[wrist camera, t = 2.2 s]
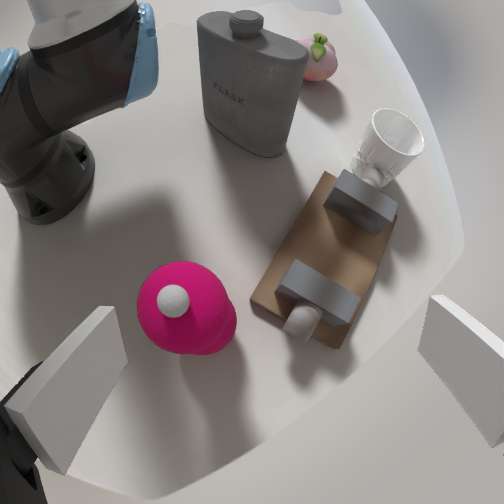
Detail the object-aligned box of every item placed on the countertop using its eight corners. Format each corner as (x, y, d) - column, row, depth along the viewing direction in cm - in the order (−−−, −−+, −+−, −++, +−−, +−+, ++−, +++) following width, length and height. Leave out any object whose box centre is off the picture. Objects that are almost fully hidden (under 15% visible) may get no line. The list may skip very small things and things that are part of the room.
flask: (193, 114, 43) (180, 6, 23) (220, 96, 44) (219, -9, 25) (265, 168, 40) (288, 50, 21) (291, 145, 42) (324, 34, 23)
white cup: (398, 193, 41) (432, 159, 31) (353, 191, 40) (382, 152, 31) (385, 151, 43) (413, 113, 34) (342, 146, 43) (364, 104, 33)
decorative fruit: (285, 61, 48) (292, 20, 39) (326, 67, 48) (339, 29, 39) (285, 90, 45) (294, 45, 36) (331, 98, 46) (347, 56, 36)
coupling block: (242, 310, 34) (244, 304, 28) (326, 169, 41) (339, 142, 35) (329, 359, 33) (349, 362, 27) (395, 211, 40) (417, 191, 34)
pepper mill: (217, 281, 35) (201, 209, 16) (247, 335, 34) (267, 327, 15) (164, 309, 34) (88, 269, 15) (192, 363, 32) (143, 391, 13)
